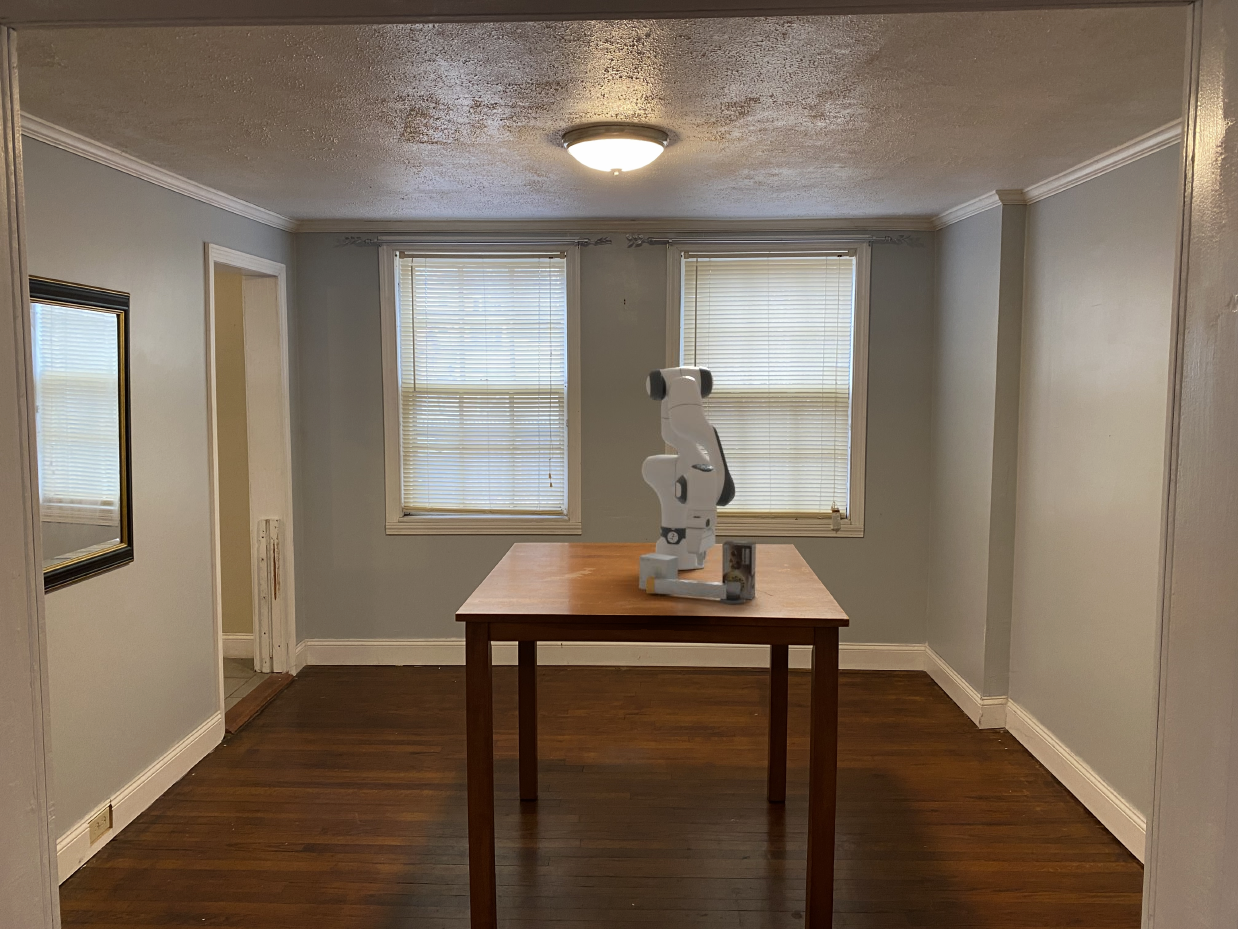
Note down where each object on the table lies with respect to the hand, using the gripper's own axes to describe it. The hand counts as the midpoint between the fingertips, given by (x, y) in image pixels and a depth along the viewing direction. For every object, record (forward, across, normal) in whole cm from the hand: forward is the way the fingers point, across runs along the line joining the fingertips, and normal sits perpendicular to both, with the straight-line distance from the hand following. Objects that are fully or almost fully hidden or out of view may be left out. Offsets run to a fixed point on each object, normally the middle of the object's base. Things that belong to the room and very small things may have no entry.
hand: (701, 565), depth 265 cm
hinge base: (+9, +6, +11) cm, 15 cm away
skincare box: (+9, -2, -14) cm, 17 cm away
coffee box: (+9, -2, +11) cm, 14 cm away
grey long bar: (+8, +6, -1) cm, 10 cm away
